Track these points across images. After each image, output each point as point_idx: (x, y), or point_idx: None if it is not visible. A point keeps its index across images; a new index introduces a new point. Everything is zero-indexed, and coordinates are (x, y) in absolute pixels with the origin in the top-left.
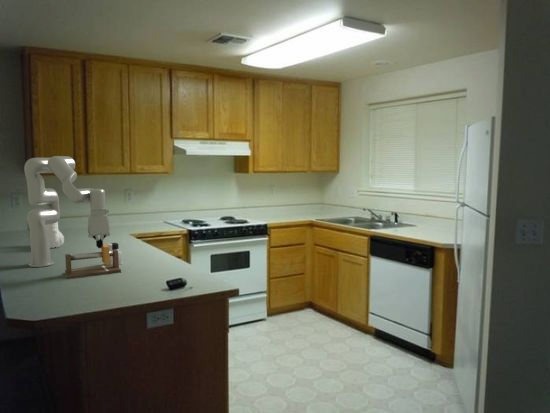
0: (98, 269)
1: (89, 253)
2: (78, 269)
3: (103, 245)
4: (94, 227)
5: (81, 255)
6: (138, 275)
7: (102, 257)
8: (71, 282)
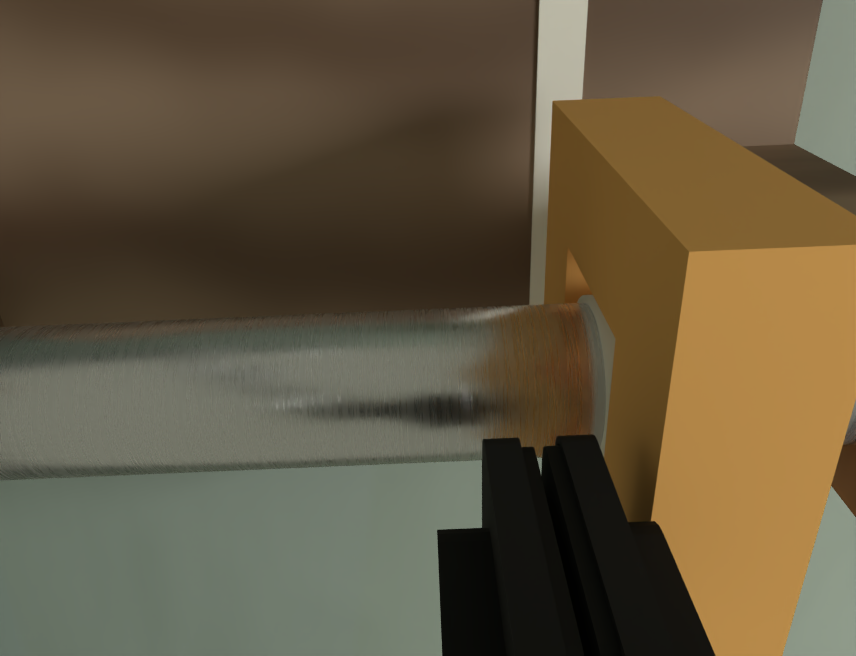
0: (433, 279)
1: (232, 462)
2: (82, 98)
3: (698, 482)
4: None
5: (43, 477)
6: (824, 622)
7: (568, 235)
8: (88, 603)
